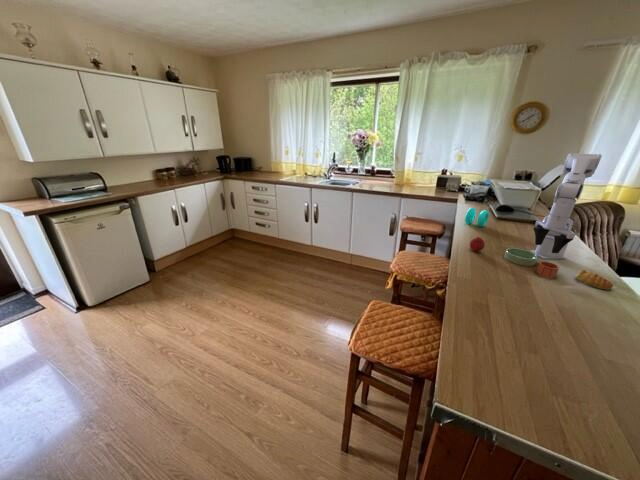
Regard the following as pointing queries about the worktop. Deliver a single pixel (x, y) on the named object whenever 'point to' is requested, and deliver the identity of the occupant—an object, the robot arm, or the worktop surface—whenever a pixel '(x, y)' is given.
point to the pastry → (593, 280)
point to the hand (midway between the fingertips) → (546, 248)
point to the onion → (477, 244)
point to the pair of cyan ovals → (481, 218)
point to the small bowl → (547, 269)
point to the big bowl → (521, 256)
